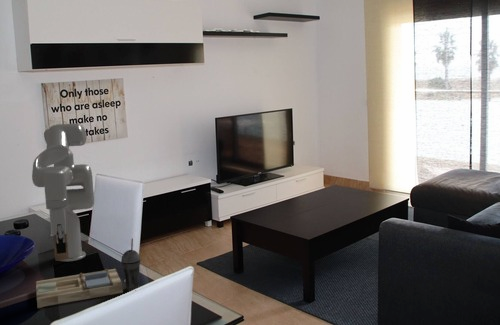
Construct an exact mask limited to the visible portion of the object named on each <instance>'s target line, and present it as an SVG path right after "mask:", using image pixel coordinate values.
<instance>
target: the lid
mask: <svg viewBox="0 0 500 325" xmlns="http://www.w3.org/2000/svg"><path fill="white" fill-rule="evenodd" d="M103 271H104V272H98V271H97V272H98V273H92V272H91V273H92V274H86V273H85V274H86V275H85V283H86V287H87V288H93V287H99V286H105V285H110V280H109V278H108V275H107V272H106V271H105V270H103Z"/></svg>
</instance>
